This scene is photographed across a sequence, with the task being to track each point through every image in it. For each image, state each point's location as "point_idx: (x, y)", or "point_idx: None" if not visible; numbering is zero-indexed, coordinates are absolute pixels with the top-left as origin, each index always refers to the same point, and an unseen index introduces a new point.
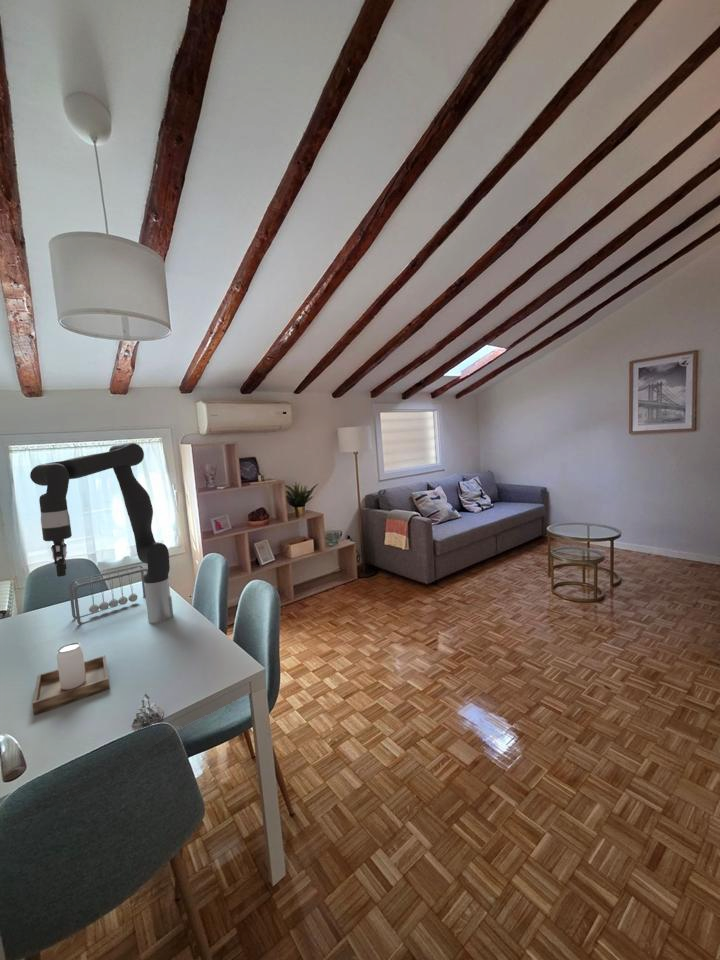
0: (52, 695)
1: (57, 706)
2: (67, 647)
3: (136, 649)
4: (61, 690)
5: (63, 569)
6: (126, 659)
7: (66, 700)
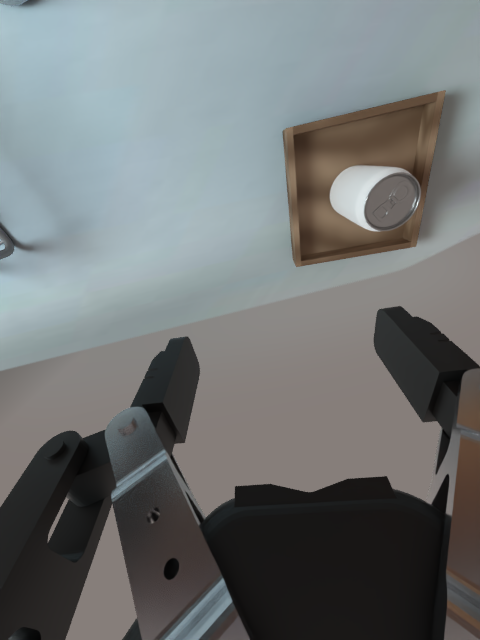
0: None
1: None
2: (379, 209)
3: (227, 40)
4: None
5: (452, 342)
6: (280, 70)
7: None
